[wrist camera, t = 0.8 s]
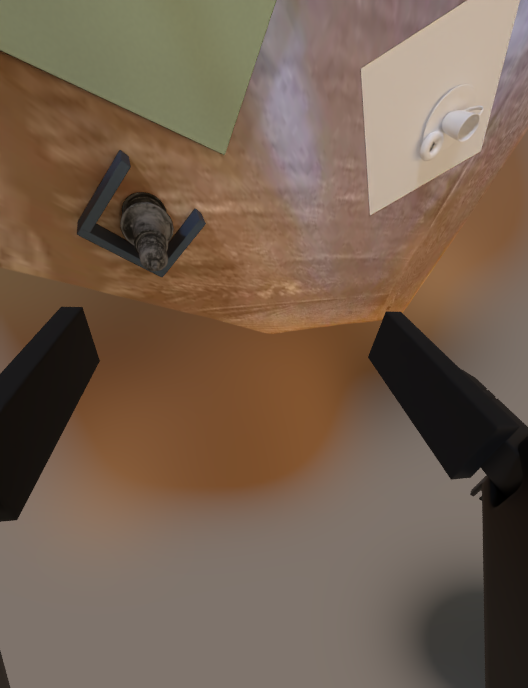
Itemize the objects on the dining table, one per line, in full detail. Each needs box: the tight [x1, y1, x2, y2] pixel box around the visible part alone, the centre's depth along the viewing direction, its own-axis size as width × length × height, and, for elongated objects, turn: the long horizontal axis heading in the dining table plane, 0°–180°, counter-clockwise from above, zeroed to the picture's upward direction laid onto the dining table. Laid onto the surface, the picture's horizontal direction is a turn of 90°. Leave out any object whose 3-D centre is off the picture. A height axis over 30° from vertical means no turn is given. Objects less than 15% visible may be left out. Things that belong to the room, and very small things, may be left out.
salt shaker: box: [121, 192, 173, 271], centre depth 32 cm, size 6×6×12 cm
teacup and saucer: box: [419, 83, 485, 162], centre depth 39 cm, size 9×8×4 cm
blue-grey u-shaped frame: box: [77, 150, 206, 277], centre depth 35 cm, size 11×10×3 cm
